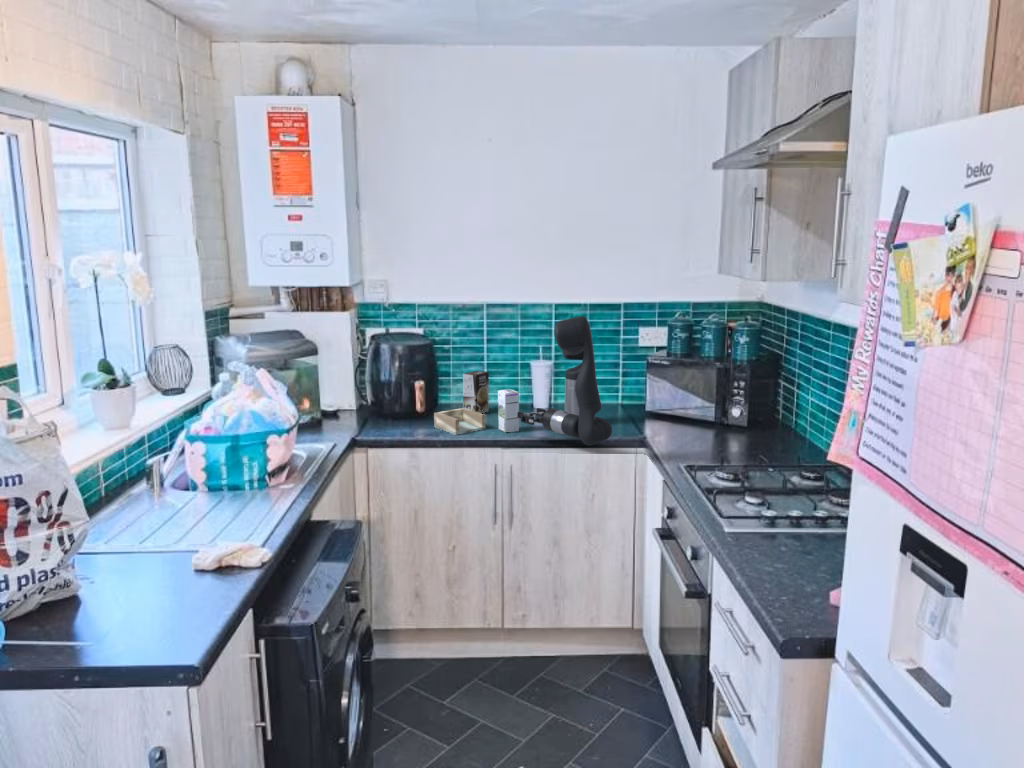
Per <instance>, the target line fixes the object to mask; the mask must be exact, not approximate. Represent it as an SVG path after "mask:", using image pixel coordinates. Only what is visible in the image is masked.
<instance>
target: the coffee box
mask: <svg viewBox="0 0 1024 768" xmlns="http://www.w3.org/2000/svg"><path fill="white" fill-rule="evenodd" d="M489 373H490V372H489V371H484V370H482V371H480V370H473V371H469V372H466V373H462V408H466V409H469V410H472V411H475V412H479V413H483V414H486V413H485V412H487V413H489V412H488V411H489V410H490V408H489V407H490V406H489V403H490V402H489V400H490V399H489V398H490V397H489V393H490V392H489V391H490V390H489V389H490V388H489V387H490V386H489V383H490V382H489V377H490V375H489Z"/></svg>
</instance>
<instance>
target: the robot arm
mask: <svg viewBox="0 0 1024 768" xmlns="http://www.w3.org/2000/svg"><path fill="white" fill-rule="evenodd" d="M591 330H592V329H591V327H590V323H589V320H588V318H587V317H586V316H584V315H583V316H582V315H580V316H576V317H571V318H565V319H562V320H559V321H557V322H556V323H555V325H554V330H553V333H554V334H553V335H554V339H555V342H556V344H557V346H558V348H559V349H561V353H562V356H563V358H564V359H565V360H571V361H572V360H574V361H577V360H578V361H581V363H580V364H578V365H575V366H574V367H570V368H568V369H566V370H565V374H564V378H565V379H564V410H562V409H558V408H554V407H551V408H542V407H541V408H540V407H537V408H536V410H535V411H534V412H533V411H531V412H529V413H528V412H523V411H520V410H519V412H518V413H517V417H518V418H519V419H520V422H521V423H524V424H528V425H532V426H534V425H535V424H538V425H542V426H543V428H544V429H545V430H547V431H550V432H553V433H557V434H561V435H564V436H565V435H566V436H569V437H572V438H580V441H582V443H583V444H585V445H587V446H593V445H596V444H598V443H602V442H604V441H606V440H608V439H609V438H610V437H611V436H612V432H613V428H612V425H611V424H610V422H609V421H608V420H606V419H605V418H603V417H599V416H598V417H597V416H596V414H597V413H598V412H600V411H601V409H602V402H601V397H600V392H599V387H598V383H597V382H598V381H597V374H596V362H595V353H594V344H593V338H592V331H591ZM534 415H535V416H534Z"/></svg>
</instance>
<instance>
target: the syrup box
mask: <svg viewBox="0 0 1024 768" xmlns="http://www.w3.org/2000/svg"><path fill="white" fill-rule="evenodd" d="M519 393H520V392H519V391H516V390H514V389H510V388H509V389H507V388H506V389H505V388H504V389H500V390H497V414H498V415H497V416H498V417H497V418H498V419H497V421H498V425H497V426H498V428H497V429H498V430H499V431H501V432H502V433H505V434H507V433H506V432H511V433H515V432H514V431H517V432H519V431H520V426H519V425H520V421H519V419H520V418H518V417H517V413H518V412H519V411H520V404H519V402H520V401H519V399H520V397H519V396H520V395H519Z"/></svg>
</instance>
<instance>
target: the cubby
mask: <svg viewBox="0 0 1024 768" xmlns="http://www.w3.org/2000/svg"><path fill="white" fill-rule="evenodd" d="M486 421H487V420H486V413H483V414H482V413H479V412H475V411H472V410H469V409H466V408H463V407H461V408H456V409H455V408H454V409H449V410H444V411H443V410H442V411H438V412H433V423H434V424H433V425H434V426H433V427H435V429H437V430H439V429H440V431H442V430H443V431H442V432H445V431H446V433H448V432H449V433H448V434H451V435H454V436H459V435H458V434H460V435H464V434H463V433H465V434H468V432H470V433H474V432H473V431H475V432H479V431H478V430H480V431H484V430H483V429H485V430H486V427H487V426H486Z"/></svg>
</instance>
